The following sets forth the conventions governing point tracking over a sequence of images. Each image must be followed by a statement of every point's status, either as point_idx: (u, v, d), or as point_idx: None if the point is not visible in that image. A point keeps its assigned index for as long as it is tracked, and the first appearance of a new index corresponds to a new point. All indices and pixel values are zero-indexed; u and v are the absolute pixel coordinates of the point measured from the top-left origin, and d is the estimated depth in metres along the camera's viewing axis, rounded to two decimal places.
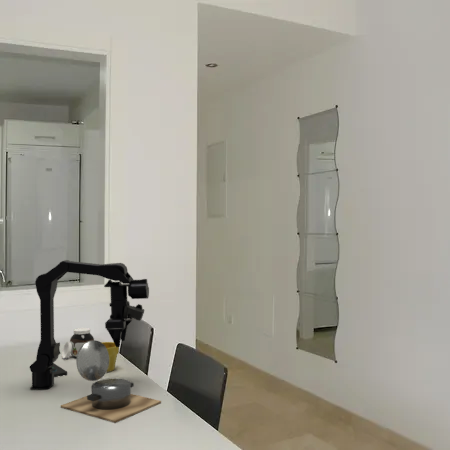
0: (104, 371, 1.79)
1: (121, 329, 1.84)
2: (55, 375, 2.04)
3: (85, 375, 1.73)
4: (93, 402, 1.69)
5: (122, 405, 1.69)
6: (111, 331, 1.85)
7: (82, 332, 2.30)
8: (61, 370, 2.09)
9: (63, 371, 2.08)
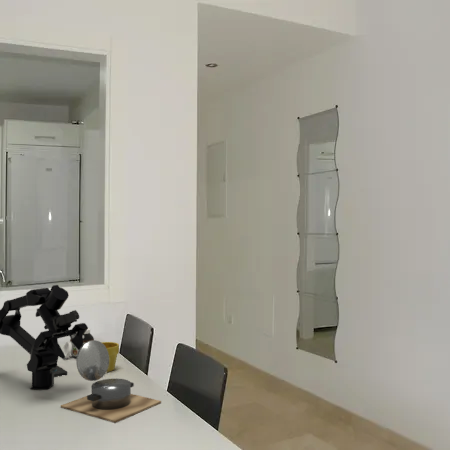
0: (104, 371, 1.79)
1: (49, 339, 1.78)
2: (55, 375, 2.04)
3: (85, 375, 1.73)
4: (93, 402, 1.69)
5: (122, 405, 1.69)
6: (49, 347, 1.80)
7: None
8: (61, 370, 2.09)
9: (63, 371, 2.08)
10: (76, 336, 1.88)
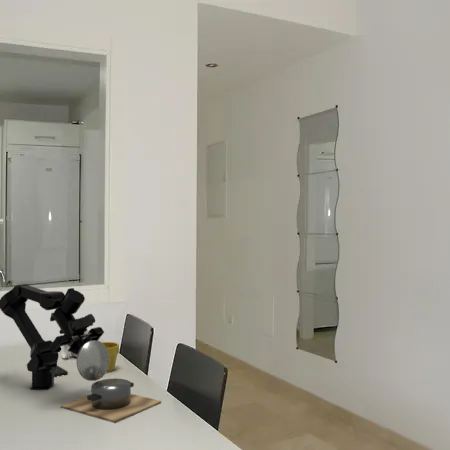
0: (104, 371, 1.79)
1: (74, 341, 1.77)
2: (56, 375, 2.04)
3: (85, 375, 1.73)
4: (93, 402, 1.69)
5: (122, 405, 1.69)
6: (74, 350, 1.79)
7: None
8: (61, 370, 2.09)
9: (63, 370, 2.08)
10: (83, 343, 1.81)
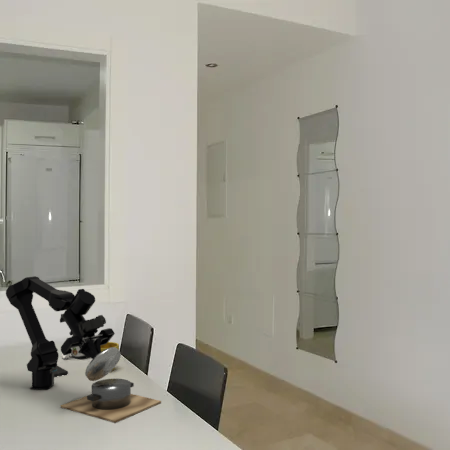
0: (107, 373, 1.79)
1: (85, 343, 1.74)
2: (56, 375, 2.04)
3: (89, 377, 1.72)
4: (93, 402, 1.69)
5: (122, 405, 1.69)
6: (85, 352, 1.76)
7: None
8: (61, 370, 2.09)
9: (63, 370, 2.08)
10: (94, 344, 1.78)
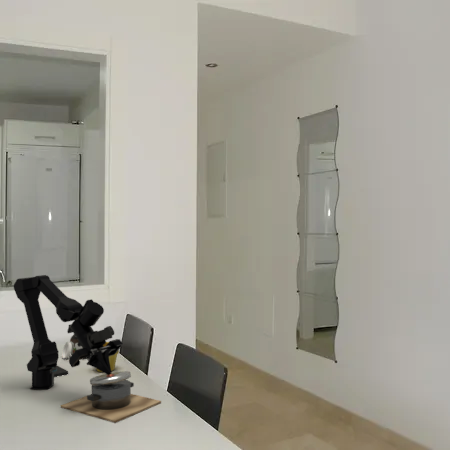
0: None
1: (93, 355, 1.72)
2: (56, 375, 2.04)
3: None
4: (93, 402, 1.69)
5: (122, 405, 1.69)
6: (93, 363, 1.74)
7: None
8: (62, 370, 2.09)
9: (64, 370, 2.09)
10: (102, 356, 1.76)
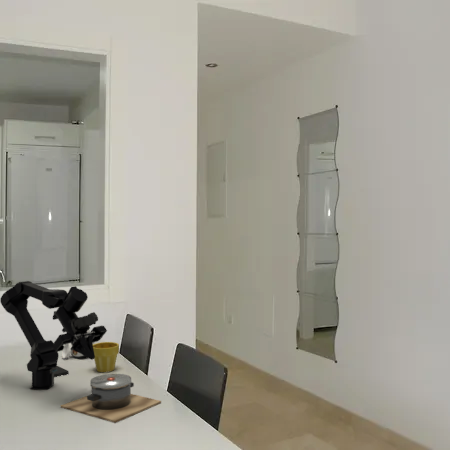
0: None
1: (77, 340, 1.76)
2: (57, 375, 2.05)
3: None
4: (93, 402, 1.69)
5: (122, 405, 1.69)
6: (77, 348, 1.78)
7: None
8: (62, 370, 2.10)
9: (64, 370, 2.09)
10: (86, 341, 1.80)
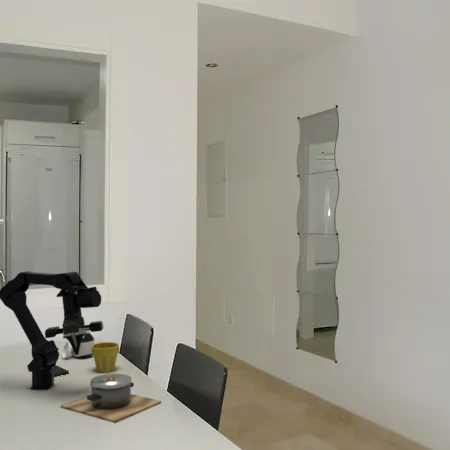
0: None
1: (63, 337, 1.85)
2: (57, 374, 2.05)
3: None
4: (93, 402, 1.69)
5: (122, 405, 1.69)
6: None
7: None
8: (62, 369, 2.10)
9: (64, 370, 2.09)
10: None
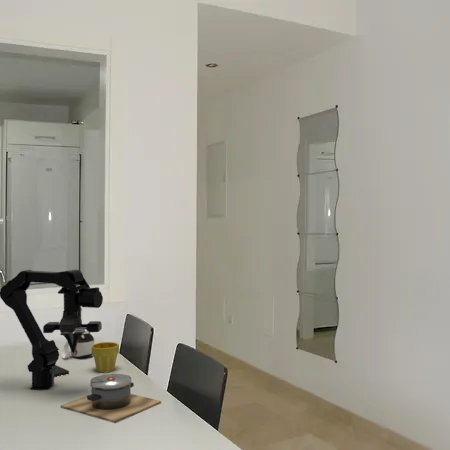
0: None
1: (60, 334, 1.86)
2: (58, 374, 2.05)
3: None
4: (93, 402, 1.69)
5: (122, 405, 1.69)
6: None
7: None
8: (62, 369, 2.10)
9: (64, 370, 2.09)
10: None
